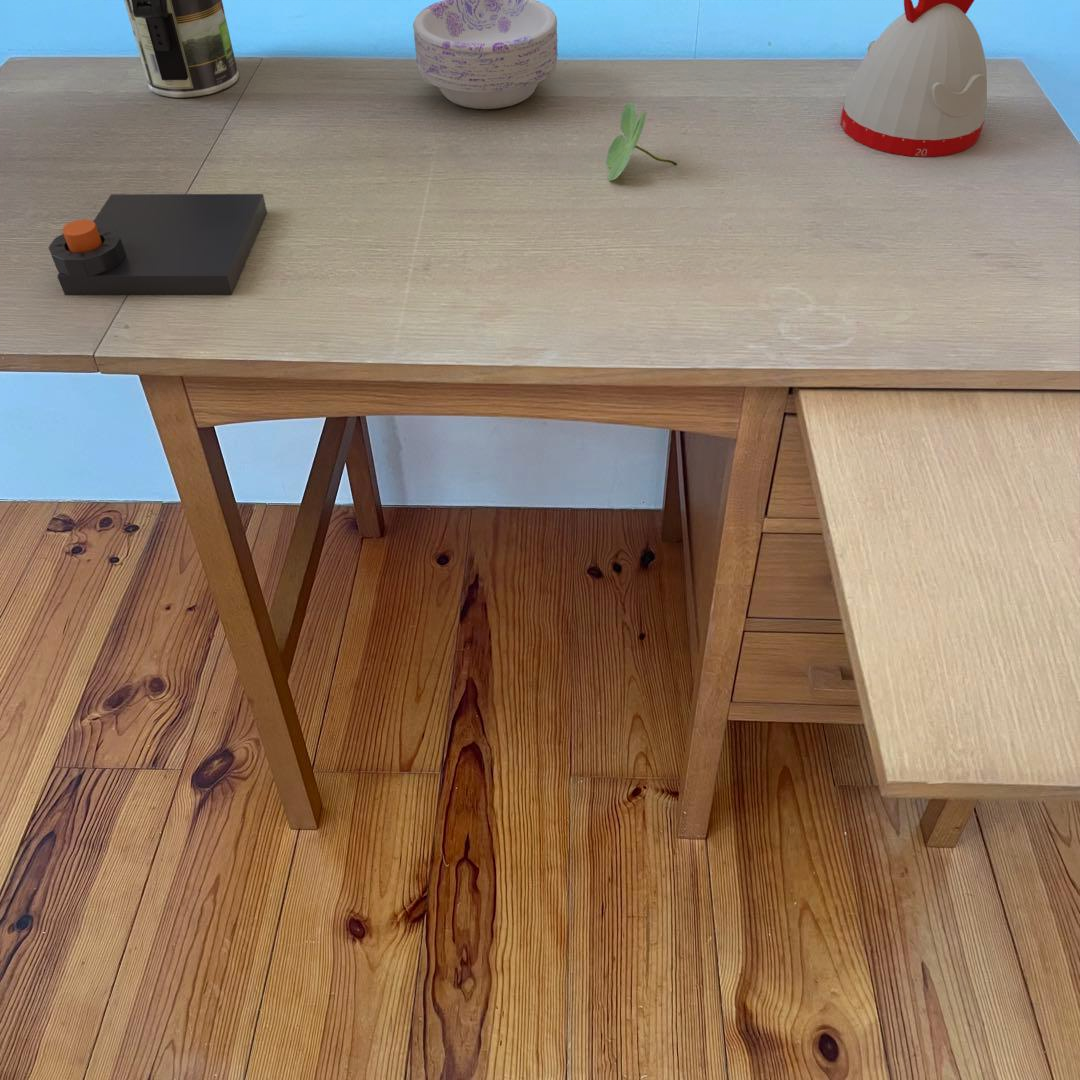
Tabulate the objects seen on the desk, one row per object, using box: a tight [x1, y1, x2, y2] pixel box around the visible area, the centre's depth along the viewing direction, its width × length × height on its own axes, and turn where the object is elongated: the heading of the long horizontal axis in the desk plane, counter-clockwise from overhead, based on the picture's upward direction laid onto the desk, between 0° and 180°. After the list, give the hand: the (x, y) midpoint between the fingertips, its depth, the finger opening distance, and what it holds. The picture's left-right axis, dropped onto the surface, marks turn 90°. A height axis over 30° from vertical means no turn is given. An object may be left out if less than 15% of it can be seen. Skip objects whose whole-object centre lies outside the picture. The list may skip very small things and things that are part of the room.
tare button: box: [61, 218, 102, 253], centre depth 82 cm, size 3×3×2 cm
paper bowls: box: [412, 0, 559, 110], centre depth 108 cm, size 15×15×8 cm
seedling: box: [605, 101, 678, 182], centre depth 97 cm, size 7×8×6 cm
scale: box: [48, 193, 268, 296], centre depth 87 cm, size 15×14×4 cm
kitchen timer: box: [840, 0, 988, 158], centre depth 98 cm, size 14×14×15 cm
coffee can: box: [123, 0, 240, 99], centre depth 110 cm, size 10×10×14 cm
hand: (188, 59), depth 113 cm, fingers closed on coffee can, 10 cm apart
